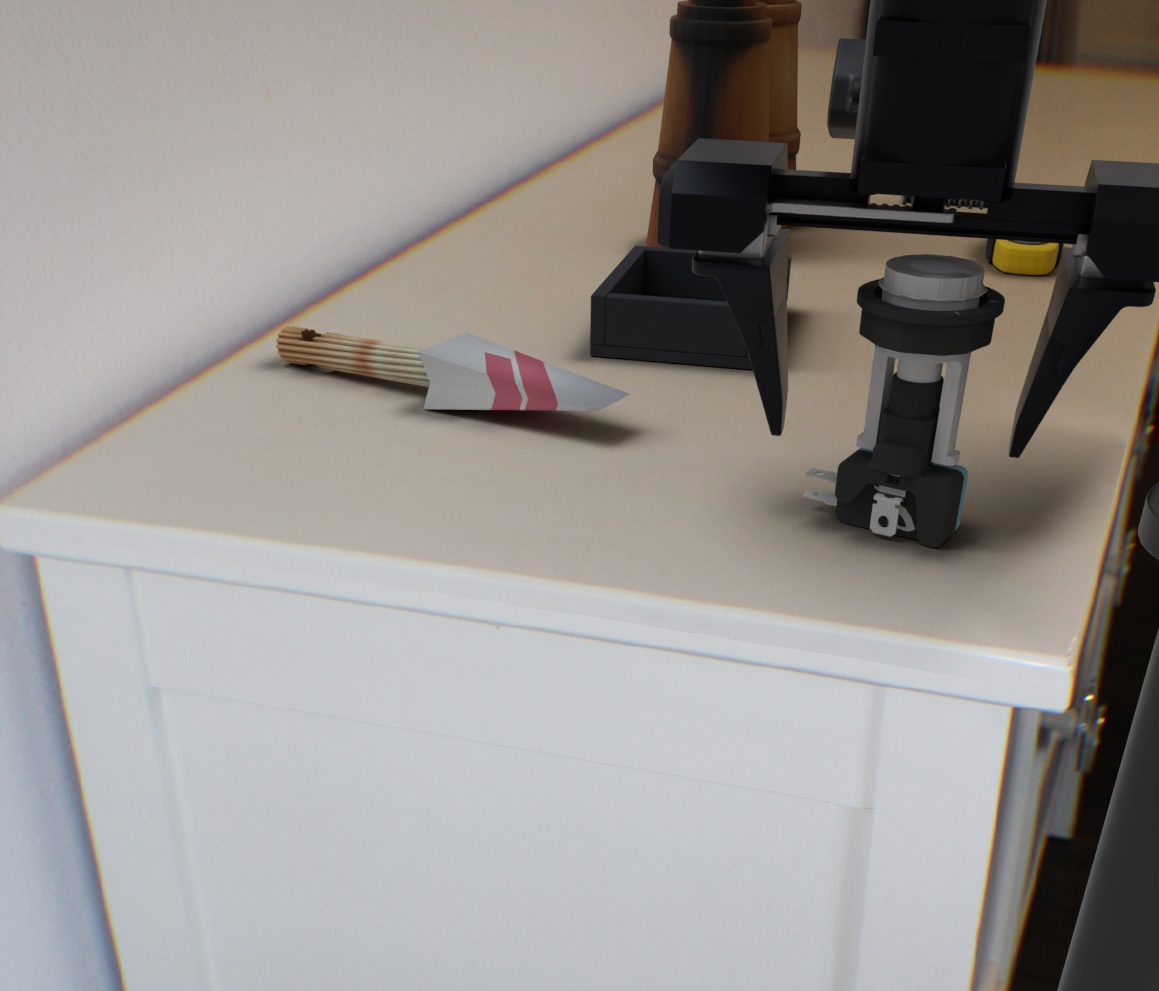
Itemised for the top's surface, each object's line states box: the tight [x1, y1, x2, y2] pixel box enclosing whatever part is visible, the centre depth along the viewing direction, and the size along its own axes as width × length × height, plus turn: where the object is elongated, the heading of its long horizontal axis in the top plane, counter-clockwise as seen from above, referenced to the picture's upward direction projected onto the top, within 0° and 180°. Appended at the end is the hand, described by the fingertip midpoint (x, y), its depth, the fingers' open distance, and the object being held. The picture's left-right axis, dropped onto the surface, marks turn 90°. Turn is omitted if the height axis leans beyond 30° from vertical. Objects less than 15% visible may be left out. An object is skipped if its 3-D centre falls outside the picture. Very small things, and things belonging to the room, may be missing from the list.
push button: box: [802, 253, 1006, 549], centre depth 55 cm, size 7×5×10 cm
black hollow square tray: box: [589, 245, 792, 371], centre depth 78 cm, size 9×11×3 cm
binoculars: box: [645, 0, 803, 248], centre depth 92 cm, size 18×8×20 cm, turn 162°
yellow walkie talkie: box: [984, 239, 1065, 276], centre depth 95 cm, size 5×2×15 cm
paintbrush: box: [275, 325, 631, 412], centre depth 69 cm, size 4×3×20 cm
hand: (893, 443), depth 56 cm, fingers open, 9 cm apart
